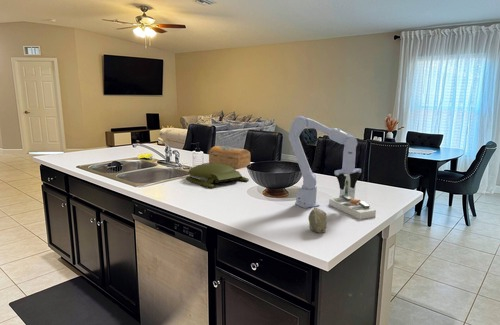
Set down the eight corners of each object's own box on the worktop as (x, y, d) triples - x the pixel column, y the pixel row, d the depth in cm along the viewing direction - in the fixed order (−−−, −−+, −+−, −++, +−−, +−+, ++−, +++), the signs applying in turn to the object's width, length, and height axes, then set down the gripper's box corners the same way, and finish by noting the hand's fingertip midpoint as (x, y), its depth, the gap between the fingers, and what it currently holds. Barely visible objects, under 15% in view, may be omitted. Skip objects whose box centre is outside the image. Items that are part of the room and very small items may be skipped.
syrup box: (338, 198, 183) (340, 171, 180) (348, 197, 185) (350, 170, 182) (345, 201, 177) (347, 174, 175) (354, 200, 179) (356, 173, 177)
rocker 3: (347, 201, 167) (347, 198, 166) (341, 197, 170) (341, 194, 170) (351, 200, 168) (351, 198, 167) (345, 196, 171) (346, 194, 171)
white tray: (359, 219, 152) (360, 212, 151) (329, 204, 172) (329, 198, 171) (375, 216, 156) (376, 209, 155) (343, 202, 175) (343, 196, 175)
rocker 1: (356, 203, 161) (356, 200, 161) (349, 202, 165) (349, 199, 165) (360, 202, 162) (360, 199, 162) (354, 201, 166) (353, 199, 166)
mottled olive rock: (315, 239, 135) (312, 219, 131) (303, 229, 143) (300, 209, 138) (334, 229, 138) (332, 209, 134) (322, 219, 145) (319, 200, 141)
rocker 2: (364, 208, 156) (365, 206, 156) (358, 204, 160) (358, 201, 159) (369, 207, 157) (369, 205, 157) (362, 203, 161) (363, 201, 160)
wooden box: (251, 166, 264) (251, 148, 261) (237, 169, 251) (237, 150, 249) (223, 161, 282) (223, 144, 280) (208, 164, 270) (208, 146, 267)
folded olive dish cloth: (250, 181, 217) (250, 166, 215) (209, 190, 198) (209, 173, 196) (218, 172, 243) (218, 158, 241) (179, 178, 224) (179, 163, 222)
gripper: (342, 163, 157) (340, 192, 160) (366, 161, 163) (364, 188, 166) (332, 160, 164) (330, 188, 166) (356, 158, 170) (354, 185, 172)
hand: (347, 188), depth 167 cm, fingers open, 6 cm apart
